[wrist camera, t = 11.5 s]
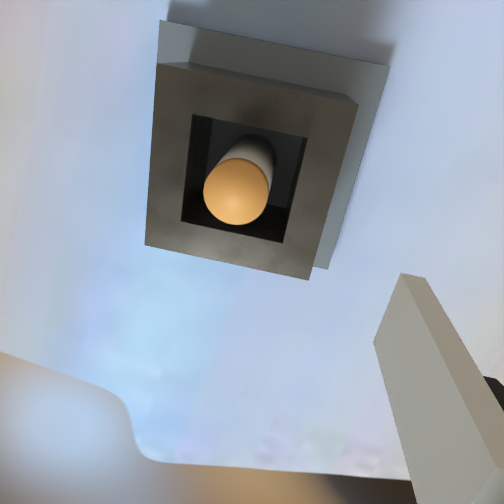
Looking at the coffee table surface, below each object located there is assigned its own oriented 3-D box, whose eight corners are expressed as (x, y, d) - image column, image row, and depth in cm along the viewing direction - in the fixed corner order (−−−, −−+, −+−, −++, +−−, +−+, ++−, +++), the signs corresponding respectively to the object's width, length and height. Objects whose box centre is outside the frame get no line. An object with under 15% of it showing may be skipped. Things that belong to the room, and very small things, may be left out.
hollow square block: (173, 210, 29) (144, 244, 24) (188, 61, 25) (156, 63, 19) (307, 239, 29) (308, 280, 24) (346, 94, 25) (358, 104, 19)
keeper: (150, 225, 31) (97, 283, 23) (164, 21, 25) (99, 3, 17) (326, 263, 31) (335, 335, 23) (386, 66, 25) (427, 70, 17)
